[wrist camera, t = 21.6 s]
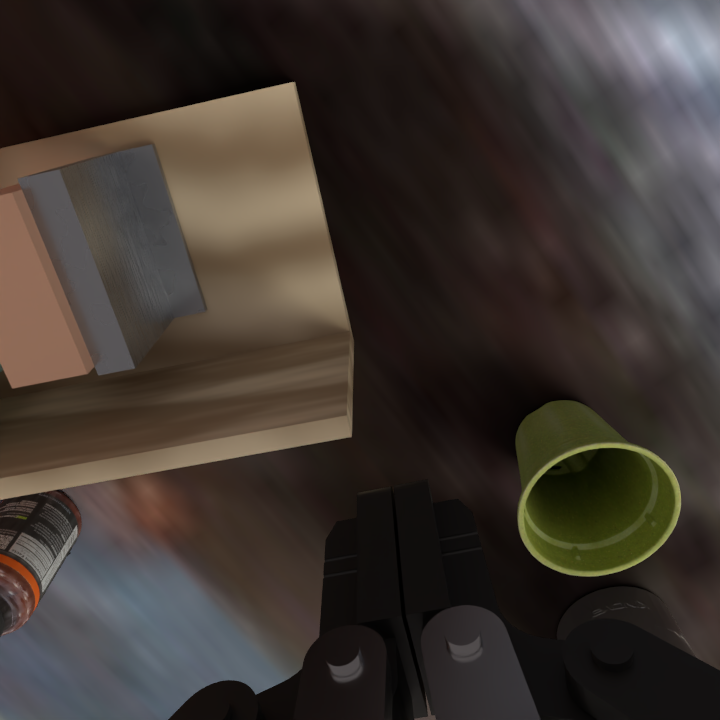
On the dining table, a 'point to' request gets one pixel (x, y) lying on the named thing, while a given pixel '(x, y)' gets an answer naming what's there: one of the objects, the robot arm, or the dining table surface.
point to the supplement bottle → (32, 551)
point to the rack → (207, 329)
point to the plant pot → (590, 493)
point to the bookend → (116, 251)
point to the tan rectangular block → (33, 304)
